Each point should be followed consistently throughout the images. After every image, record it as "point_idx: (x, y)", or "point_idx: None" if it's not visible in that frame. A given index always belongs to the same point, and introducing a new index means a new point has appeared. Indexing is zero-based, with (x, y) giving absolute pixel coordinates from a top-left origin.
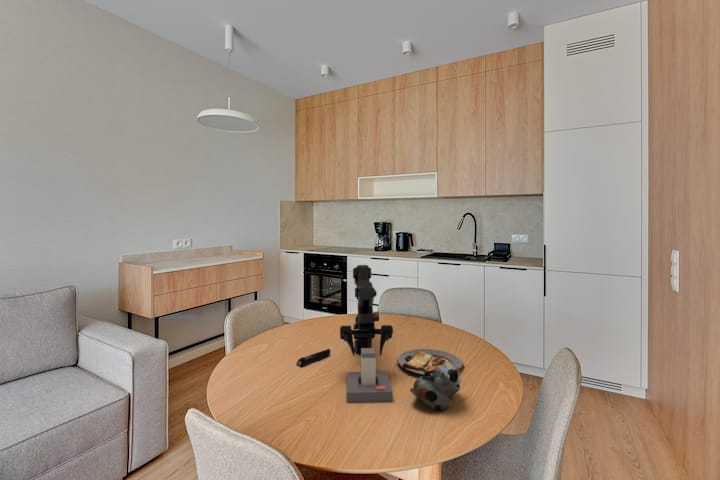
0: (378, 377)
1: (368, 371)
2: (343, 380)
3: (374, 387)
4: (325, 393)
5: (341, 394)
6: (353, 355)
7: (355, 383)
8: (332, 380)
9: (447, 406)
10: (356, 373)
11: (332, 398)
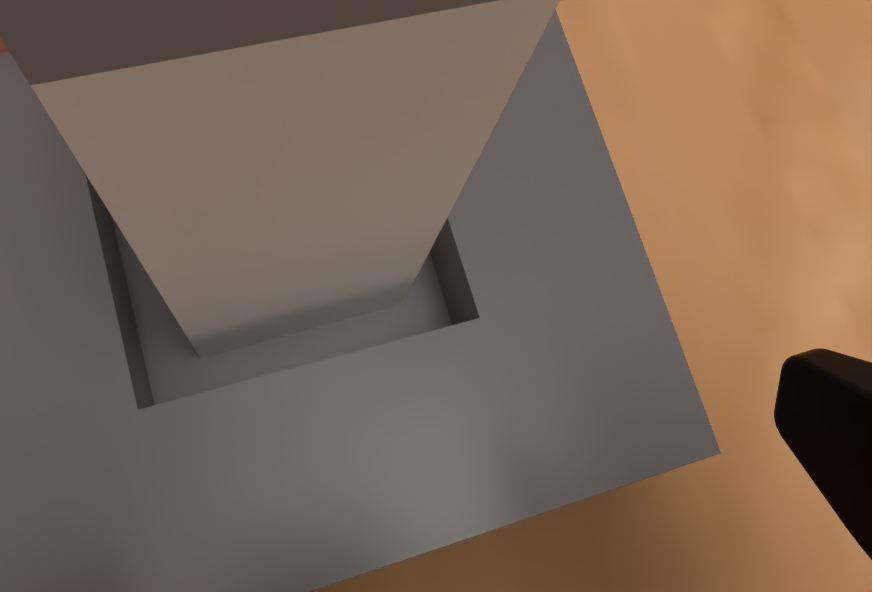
0: (109, 389)
1: None
2: (702, 461)
3: None
4: (768, 90)
5: (588, 98)
6: (798, 379)
7: None
8: None
9: None
10: (549, 452)
11: (651, 3)
